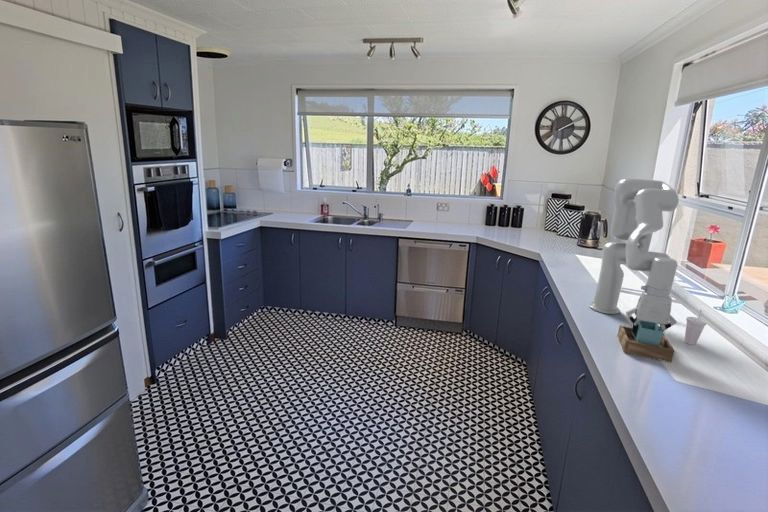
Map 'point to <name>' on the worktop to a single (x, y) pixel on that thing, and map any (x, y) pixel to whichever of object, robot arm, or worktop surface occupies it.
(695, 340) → the smoothie
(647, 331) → the small crate
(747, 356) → the worktop surface
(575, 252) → the worktop surface
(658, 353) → the big crate
